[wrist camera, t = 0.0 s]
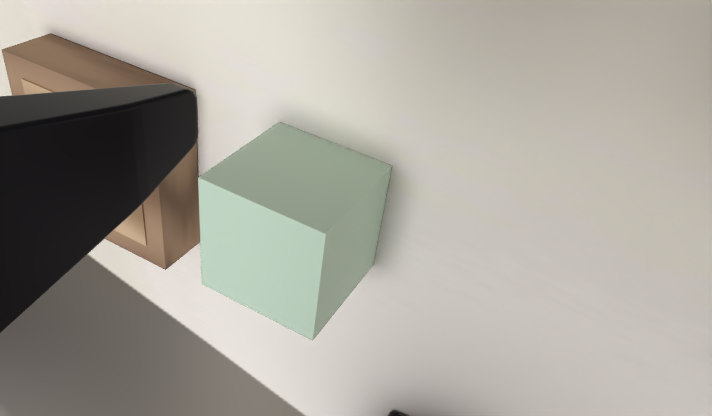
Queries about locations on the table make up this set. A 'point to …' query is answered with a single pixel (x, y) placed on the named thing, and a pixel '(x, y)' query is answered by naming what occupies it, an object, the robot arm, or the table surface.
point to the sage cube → (291, 225)
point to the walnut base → (95, 70)
